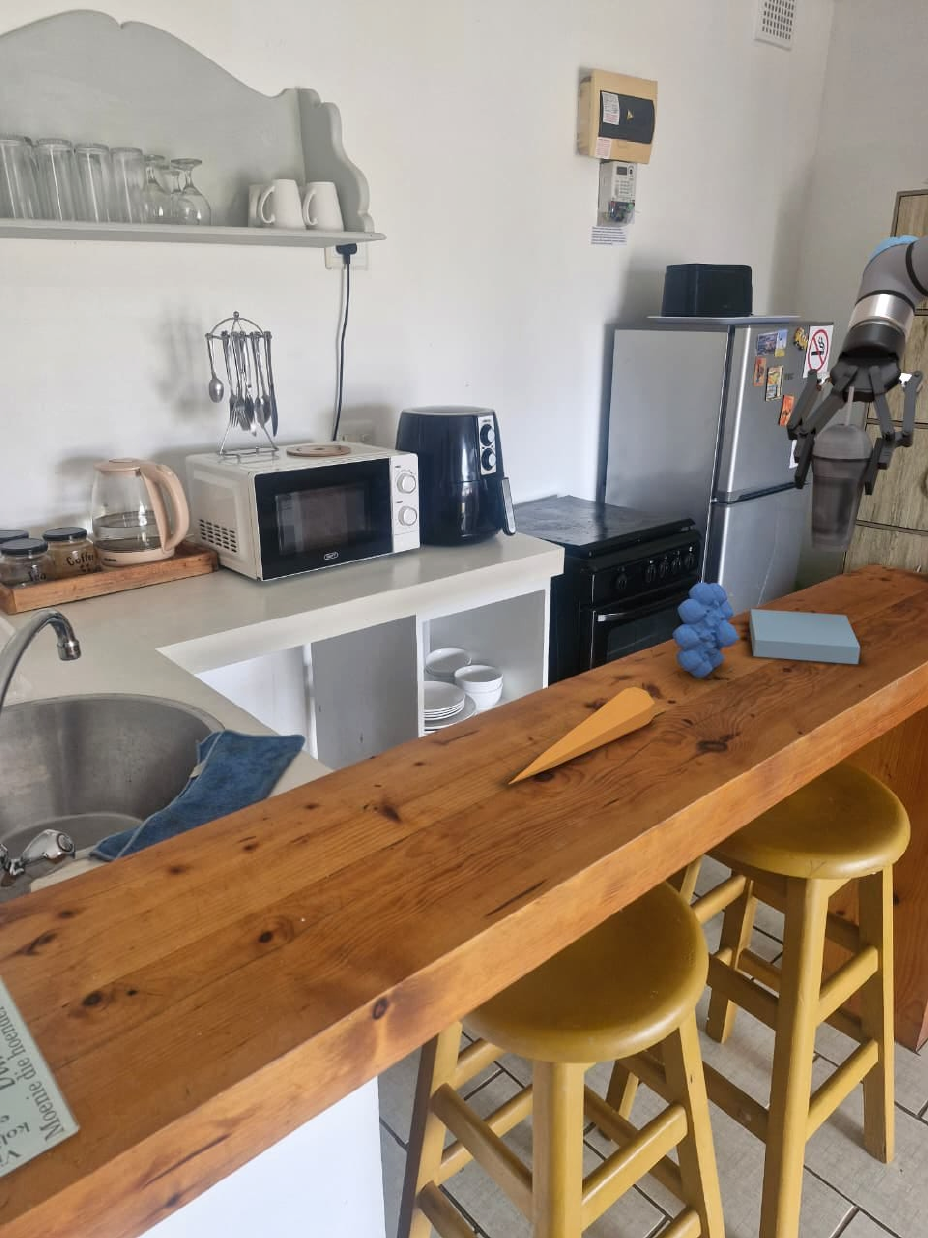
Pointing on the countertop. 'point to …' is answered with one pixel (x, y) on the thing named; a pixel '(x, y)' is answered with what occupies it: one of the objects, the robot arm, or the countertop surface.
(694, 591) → the grapes
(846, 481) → the beverage cup
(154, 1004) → the countertop surface
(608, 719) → the carrot
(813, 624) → the foam pad
